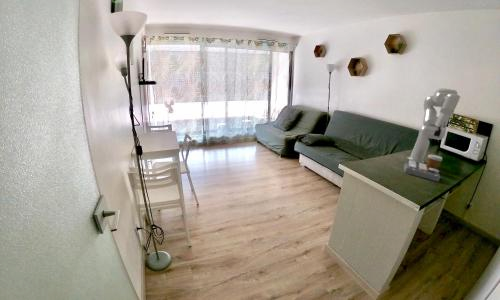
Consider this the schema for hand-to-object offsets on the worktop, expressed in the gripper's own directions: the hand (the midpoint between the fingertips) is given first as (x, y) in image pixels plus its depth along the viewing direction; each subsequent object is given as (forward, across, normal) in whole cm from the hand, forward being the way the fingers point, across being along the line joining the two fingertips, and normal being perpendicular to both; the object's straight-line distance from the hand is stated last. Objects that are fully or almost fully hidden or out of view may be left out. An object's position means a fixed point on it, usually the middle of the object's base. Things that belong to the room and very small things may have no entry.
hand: (436, 135), depth 170 cm
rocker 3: (+23, +9, +5) cm, 25 cm away
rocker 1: (+23, +9, -9) cm, 26 cm away
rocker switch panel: (+29, +7, -2) cm, 30 cm away
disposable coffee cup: (+29, -9, +7) cm, 31 cm away
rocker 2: (+23, +9, -2) cm, 25 cm away
